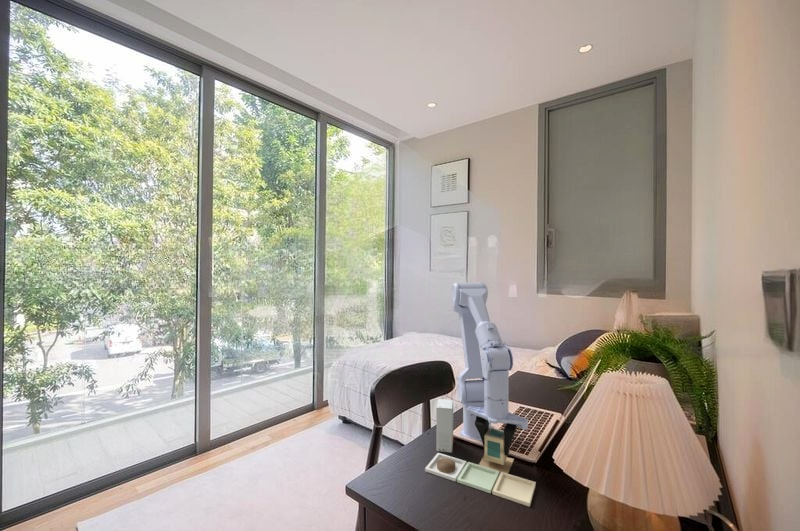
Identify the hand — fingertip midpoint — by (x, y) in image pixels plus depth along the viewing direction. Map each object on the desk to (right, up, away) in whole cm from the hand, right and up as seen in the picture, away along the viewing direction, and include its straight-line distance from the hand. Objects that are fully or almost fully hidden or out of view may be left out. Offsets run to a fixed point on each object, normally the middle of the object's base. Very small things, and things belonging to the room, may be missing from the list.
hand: (496, 450), depth 85 cm
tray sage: (-6, -4, -6) cm, 9 cm away
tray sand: (+1, -4, -10) cm, 11 cm away
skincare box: (-12, -4, +8) cm, 15 cm away
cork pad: (0, -4, 0) cm, 3 cm away
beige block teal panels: (0, -2, 0) cm, 2 cm away
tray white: (-13, -4, -2) cm, 13 cm away
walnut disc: (-13, -3, -2) cm, 13 cm away
